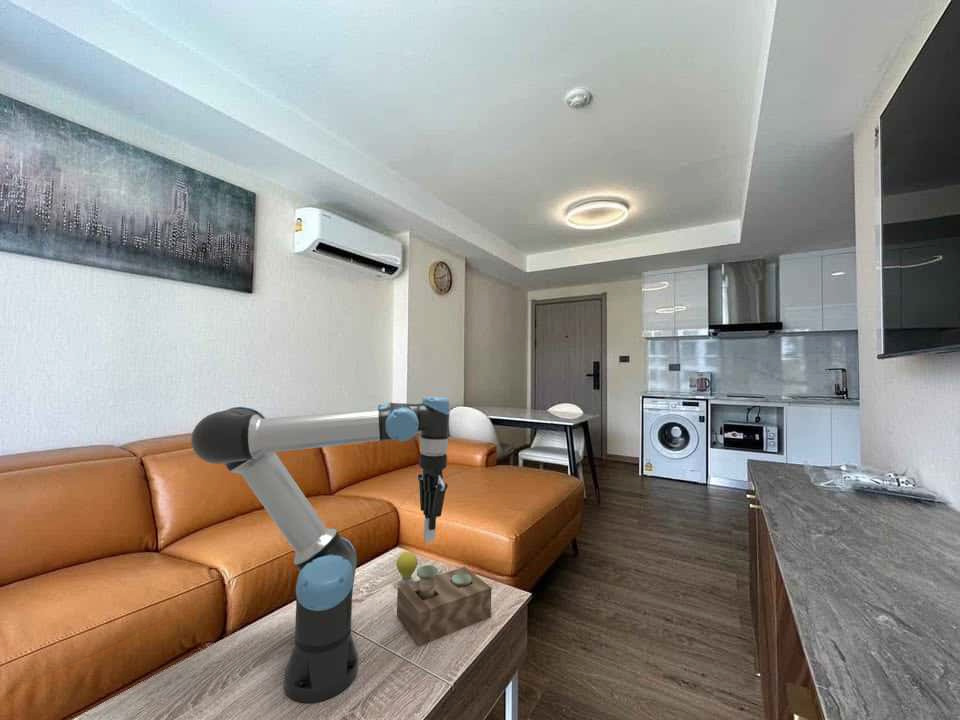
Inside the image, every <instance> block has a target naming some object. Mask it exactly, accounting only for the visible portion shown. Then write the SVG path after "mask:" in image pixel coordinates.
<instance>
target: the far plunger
mask: <svg viewBox="0 0 960 720" xmlns="http://www.w3.org/2000/svg"><path fill="white" fill-rule="evenodd" d="M452 583H453V584H454V585H455V586H457V587H458V588H461V587H464V586H467V585H468V584H470V583H471V576H470V575H469V574H466V573H457V574H455V575H453V576H452Z"/></svg>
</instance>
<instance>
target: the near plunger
mask: <svg viewBox="0 0 960 720" xmlns="http://www.w3.org/2000/svg"><path fill="white" fill-rule="evenodd" d="M437 575H439V569H438V568H437V567H436V566H434V565H430V564H429V565H422V566H420V567H418V568H416V576H417V577H418V578H419V580H420V591H419V597H420V598H421V599H422V600H425V599H428V598H431V597H434V586H435V576H437Z"/></svg>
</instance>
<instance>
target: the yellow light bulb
mask: <svg viewBox="0 0 960 720" xmlns="http://www.w3.org/2000/svg"><path fill="white" fill-rule="evenodd" d="M418 564H419V563H418V558H417V556H416V554H415V553H413V552H412V551H404V552H402V553H401V554H400V555H399V556H398V558H397V560H396V564H395V565H396V568H397V570H398V573H399V574H400V576H401V583H402V586H403V585H406V584H409V583H412V581H413V579H412V578H413V577H412V575H413V574H414V573H415V570H417V567H418Z"/></svg>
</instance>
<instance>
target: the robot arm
mask: <svg viewBox="0 0 960 720" xmlns="http://www.w3.org/2000/svg"><path fill="white" fill-rule="evenodd" d="M450 415H451V414H450V401H449V399H448V398H446V397H444V396H443V397H441V396H425V397H423V398H422V402H421V403H399V402H398V403H397V402H396V403H394V402H382V403H379V404H378V406H377V409H376V408H375V409H365V410H353V411H342V412H341V411H340V412H329V413H316V414H306V415H305V414H304V415H291V416H280V417H279V416H278V417H266V416H265V415H264V414H263V413H262V412H260V411H259V410H257V409H255V408H252V407H245V406H236V407H230V408H229V409H228V408H227V409H225V410H221V411H217V412H213V413H210V414H208V415H206V416H205V417H203V418H202V419H201V420H200V421H198V423H197V424H196V425H195V427H194V428H193V431H192V433H191V443H190V444H191V448H192V449H193V452H194V453H195V455H196V456H197V457H199V458H200V459H201V460H203V462H205V463H206V462H207V463H210V464H215V465H224V466H225V467H226V468H227V470H228V471H229V473H230V474H231V473H233V474H239V475H241V476H242V478H243V479H244V481H245V482H246V483H247V485H248V486H249V488H250V489H251V491H252V492H253V494H254V495H255V497H256V498H257V499H258V501H259V502H260V504H261V505H262V507H264V509H265V511H266V512H267V514H268V516H269V517H270V518H271V520H273V522H274V523H275V525H276V526H277V528H278V529H279V531H280V533H281V534H282V535H283V536H284V538H285V540H287V542H288V543H289V545H290V546H291V548H292V549H293V551H294V552H295V556H294V560H293V563H294V565H295V566H296V568H297V569H298V571H299V573H298V577H297V581H296V585H295V596H296V599H295V600H296V603H295V622H294V626H295V629H294V644H293V647H292V648H293V649H292V650H291V653H290V656H289V659H288V662H287V664H286V667H285V672H284V675H283V676H284V678H283V687H284V688H283V689H284V692H285V693H286V696H288V697H289V698H290V699H292V700H294V701H297V702H300V703H317V702H321V701H325V700H328V699H330V698H333V697H335V696H336V695H338V694H340V693H341V692H342V691H344V690H345V689H347V688H348V687H349V686H350V685H351V684H352V683H353V681H354V679H355V677H356V676H357V674H358V669H359V668H358V667H359V656H358V652H357V651H358V650H357V648H356V645H355V642H354V639H353V636H352V615H353V613H352V610H353V593H354V583H355V579H356V578H355V577H356V570H357V564H358V560H357V555H356V554H357V553H356V549H355V548H354V546H353V544H352V543H351V541H349V540H348V539H347V538H346V537H345V538H344V537H341V535H340V534H339V531H337V530H336V529H335V528H328V527H327V526H326V524H325V523H324V522H323V520H322V519H321V518H320V516H319V515H318V513H317V511H316V510H315V508H314V507H313V506H312V504H311V503H310V502H309V499H308V498H307V497H306V495H305V494H304V493H303V491H302V490H301V488H300V486H298V484H297V483H296V481H295V480H294V478H293V476H292V475H291V474H290V472H289V471H288V469H287V467H286V466H285V464H284V463H283V462H282V461H281V459H280V458H279V456H278V454H277V453H278V452H287V451H288V452H289V451H297V450H307V449H309V450H310V449H317V448H318V449H319V448H326V447H334V446H344V445H345V446H346V445H353V444H354V445H355V444H363V443H371V442H372V443H373V442H383V441H396V442H407V441H409V440H411V439H412V438H414V437H415V436H416V434H417V432H421V433H420V443H419V444H420V446H419V451H420V454H419V462H418V464H419V465H418V466H419V468H420V469H422V473H419V474H418V475H417V478H418V484H419V485H418V486H419V502H420V503H419V504H420V505H419V506H420V511H421V512H422V513H423V515H424V519H423V520H424V524H423V539H422V540H423V542H425V543H430V542H433V541H435V540H436V527H437V526H436V523H437V518H438V517H441V516H442V512H443V506H444V500H445V495H446V491H447V489H448V483H447V482H445V483H444V480H443V478H444V476H443V475H444V474H443V470H444V469H446V468H447V465H448V464H447V463H448V454H447V453H448V443H449V440H448V438H449V426H450Z"/></svg>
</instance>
